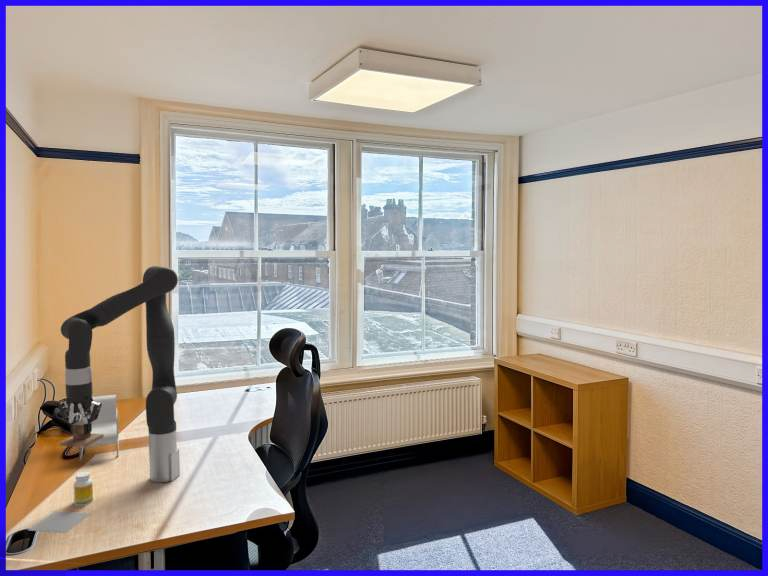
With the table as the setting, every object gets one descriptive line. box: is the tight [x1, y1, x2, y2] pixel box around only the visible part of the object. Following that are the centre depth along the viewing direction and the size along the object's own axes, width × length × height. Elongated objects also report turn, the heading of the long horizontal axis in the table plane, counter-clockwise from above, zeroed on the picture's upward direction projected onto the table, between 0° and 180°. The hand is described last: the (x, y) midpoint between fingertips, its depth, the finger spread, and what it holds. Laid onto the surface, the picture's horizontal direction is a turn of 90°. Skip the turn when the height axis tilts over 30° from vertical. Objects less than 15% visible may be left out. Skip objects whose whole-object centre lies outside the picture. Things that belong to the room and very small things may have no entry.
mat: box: [27, 510, 92, 534], centre depth 175 cm, size 12×12×1 cm
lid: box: [59, 420, 104, 448], centre depth 186 cm, size 9×9×6 cm
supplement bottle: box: [73, 471, 94, 507], centre depth 188 cm, size 5×5×10 cm
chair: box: [78, 394, 120, 463], centre depth 234 cm, size 13×25×20 cm, turn 24°
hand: (81, 433), depth 186 cm, fingers closed on lid, 3 cm apart
